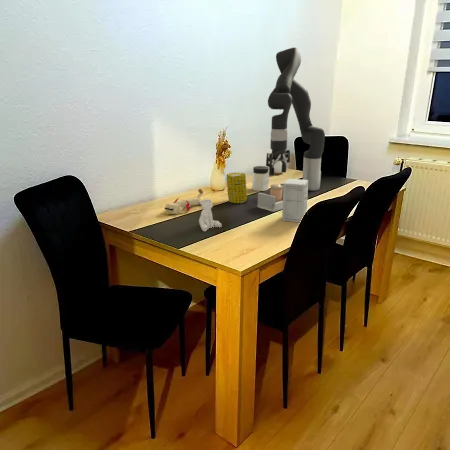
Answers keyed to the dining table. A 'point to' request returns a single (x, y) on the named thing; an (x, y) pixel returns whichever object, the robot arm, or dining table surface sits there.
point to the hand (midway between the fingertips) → (277, 173)
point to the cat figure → (183, 204)
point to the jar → (260, 178)
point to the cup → (277, 167)
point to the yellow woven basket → (236, 187)
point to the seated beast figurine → (207, 216)
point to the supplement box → (294, 199)
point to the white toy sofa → (269, 202)
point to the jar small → (276, 192)
